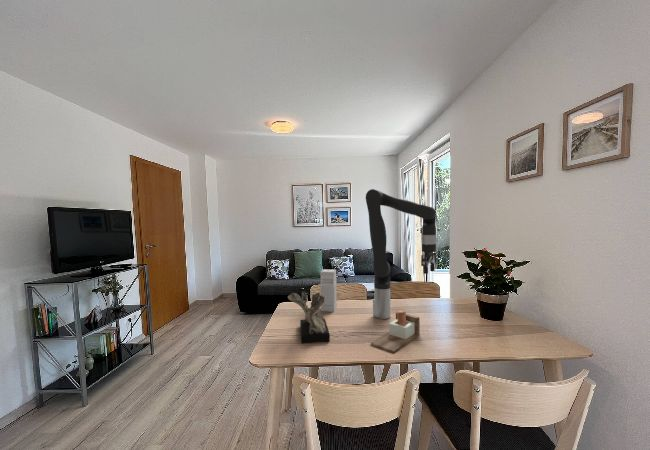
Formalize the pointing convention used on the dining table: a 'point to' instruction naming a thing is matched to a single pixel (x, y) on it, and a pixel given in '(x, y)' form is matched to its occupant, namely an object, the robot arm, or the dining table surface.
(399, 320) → the dowel
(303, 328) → the coral
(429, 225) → the robot arm
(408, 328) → the hole block
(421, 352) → the dining table surface
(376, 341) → the walnut angle bracket
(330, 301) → the box
